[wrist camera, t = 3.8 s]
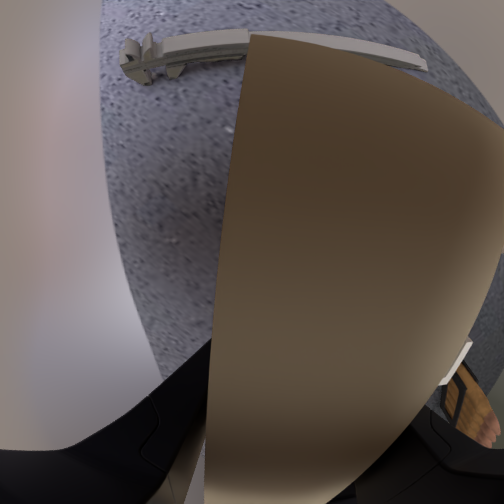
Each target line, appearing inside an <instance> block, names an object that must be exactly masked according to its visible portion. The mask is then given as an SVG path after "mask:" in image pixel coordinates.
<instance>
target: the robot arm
mask: <svg viewBox="0 0 504 504" xmlns="http://www.w3.org/2000/svg"><path fill="white" fill-rule="evenodd" d="M211 340H212V338H211V339H210V340H209V341H208V342H206V343H205V344H204V345H203V346H202V347H201V348H200V349H199V350H198V351H197V352H196V353H195V354H193V355H192V356H191V357H190V358H189V359H188V360H187V361H186V362H185V363H184V364H183V365H181V366H180V367H179V368H178V369H177V370H176V371H175V372H174V373H173V374H171V375H170V376H169V377H168V378H167V379H166V380H165V381H164V382H162V383H161V385H159V386H158V387H157V388H156V389H155V390H153V391H152V392H151V393H150V394H149V397H148V396H146V397H145V398H144V399H143V400H142V401H141V402H140V403H138V404H137V405H136V406H135V407H134V408H132V409H131V410H130V411H128V412H127V413H126V414H125V415H123V416H121V417H120V418H118V419H117V420H115V421H114V422H112V423H111V424H109V425H107V426H106V427H104V428H103V429H101V430H99V431H98V432H96V433H94V434H93V435H91V436H89V437H87V438H86V439H84V440H82V441H81V442H79V443H77V444H75V445H73V446H70V447H68V448H64V449H60V450H49V451H21V450H19V451H18V450H2V449H0V504H184V501H185V498H186V495H187V492H188V489H189V486H190V483H191V480H192V477H193V474H194V471H195V468H196V464H197V461H198V458H199V455H200V452H201V449H202V446H203V443H204V440H205V436H206V419H207V400H208V383H209V367H210V353H211ZM326 504H504V449H491V448H488V447H485V446H483V445H481V444H480V443H478V442H477V441H475V440H473V439H472V438H470V437H469V436H467V435H466V434H464V433H463V432H461V431H460V430H458V429H457V428H455V427H454V426H452V425H451V424H449V423H448V422H447V421H445V420H444V419H443V418H441V417H440V416H439V415H438V414H436V413H435V412H434V411H433V410H430V408H429V407H428V406H426V405H424V406H423V407H422V409H421V410H420V411H419V412H418V414H417V415H416V416H415V418H414V419H413V420H412V421H411V422H410V424H409V425H408V426H407V427H406V428H405V430H404V431H403V432H402V433H401V434H400V435H399V437H398V438H397V439H396V440H395V441H394V442H393V443H392V444H391V445H390V446H389V448H388V449H387V450H386V451H385V452H384V453H383V454H382V455H381V456H380V457H379V458H378V459H377V460H376V461H375V462H374V463H373V464H372V465H371V466H370V467H369V468H368V469H366V470H365V471H364V472H363V473H362V474H361V475H360V476H359V477H358V478H357V479H355V480H354V481H353V482H352V483H351V484H350V485H348V486H347V487H346V488H345V489H344V490H342V491H341V492H340V493H339V494H337V495H336V496H335V497H334V498H332V499H331V500H330V501H328V502H327V503H326Z"/></svg>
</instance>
